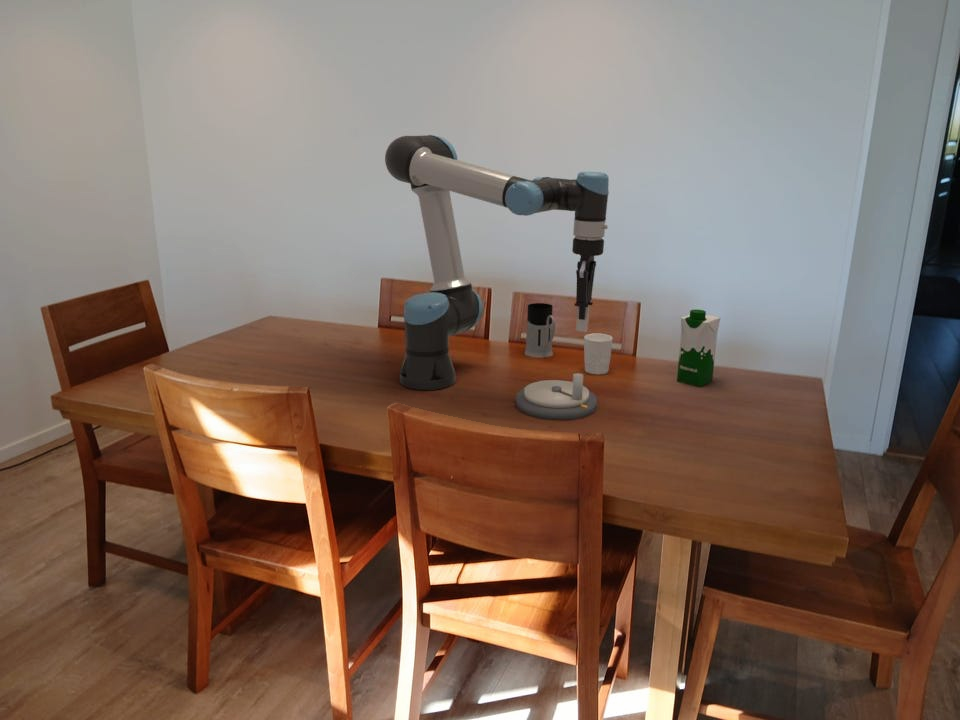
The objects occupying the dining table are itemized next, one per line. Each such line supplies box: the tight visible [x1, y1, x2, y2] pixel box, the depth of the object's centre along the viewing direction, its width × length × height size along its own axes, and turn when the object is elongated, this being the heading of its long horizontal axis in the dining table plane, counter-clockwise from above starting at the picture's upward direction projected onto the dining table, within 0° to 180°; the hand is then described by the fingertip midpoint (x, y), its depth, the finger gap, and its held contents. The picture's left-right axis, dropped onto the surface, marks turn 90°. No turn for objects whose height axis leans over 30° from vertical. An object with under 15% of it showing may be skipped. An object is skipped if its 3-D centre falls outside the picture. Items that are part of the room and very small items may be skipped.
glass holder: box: [524, 302, 556, 359], centre depth 218 cm, size 9×14×15 cm, turn 21°
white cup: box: [583, 333, 613, 375], centre depth 205 cm, size 8×8×10 cm
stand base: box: [515, 387, 598, 421], centre depth 181 cm, size 20×20×2 cm
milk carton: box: [676, 309, 721, 388], centre depth 196 cm, size 9×9×20 cm
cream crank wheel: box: [523, 372, 590, 408], centre depth 179 cm, size 16×16×8 cm
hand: (581, 330), depth 184 cm, fingers closed
